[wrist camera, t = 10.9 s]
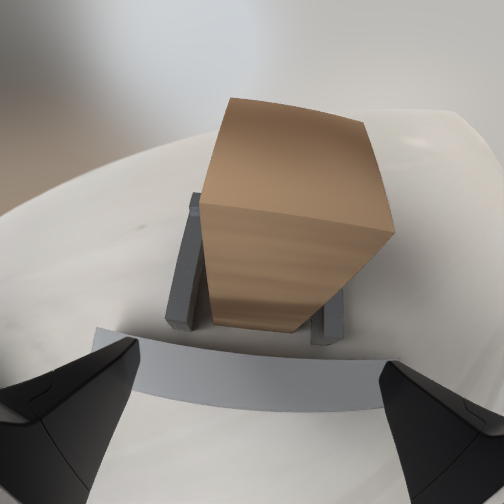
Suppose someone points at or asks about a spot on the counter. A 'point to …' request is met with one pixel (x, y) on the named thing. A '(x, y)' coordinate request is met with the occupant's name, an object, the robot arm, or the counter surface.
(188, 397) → the door edge
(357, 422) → the counter surface
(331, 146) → the block
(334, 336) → the keeper
